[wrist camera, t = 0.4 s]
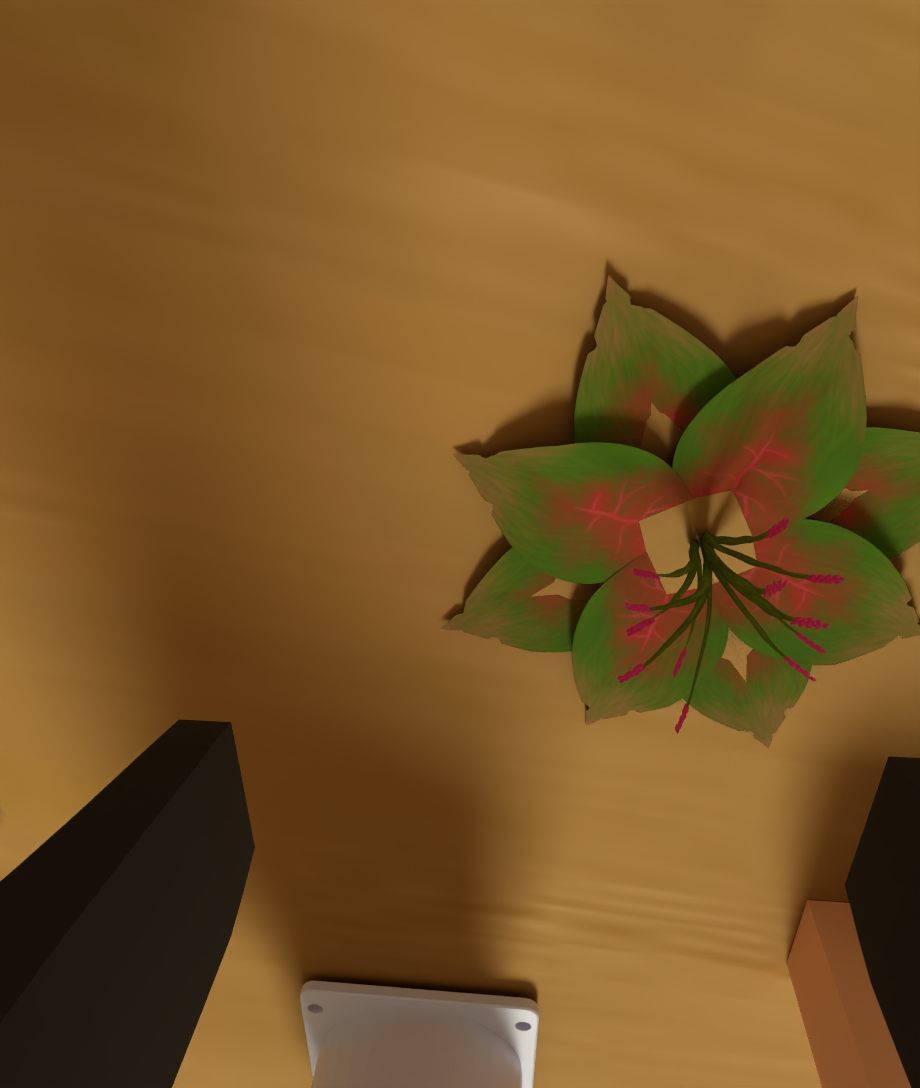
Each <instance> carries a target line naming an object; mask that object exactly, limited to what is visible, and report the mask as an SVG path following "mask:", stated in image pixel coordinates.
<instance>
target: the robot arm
mask: <svg viewBox="0 0 920 1088" xmlns="http://www.w3.org/2000/svg"><path fill="white" fill-rule="evenodd" d="M254 848H255V846H254V841H253V836H252V830H251V825H250V820H249V815H248V809H247V804H246V799H245V793H244V788H243V783H242V778H241V772H240V767H239V762H238V757H237V751H236V746H235V741H234V735H233V730H232V725H231V722H215V721H195V720H178V721H177V722H176V723H175V724H174V725H173V726H172V727H171V728H169V729H168V730H167V731H166V732H165V733H164V734H163V735H162V736H160V737H159V738H158V739H157V740H156V741H155V742H154V743H153V744H152V745H150V746H149V747H148V748H147V749H146V750H145V751H144V752H143V753H142V754H141V755H140V756H139V757H137V758H136V759H135V760H134V761H133V762H132V763H131V764H130V765H129V766H128V767H127V768H126V769H125V770H123V771H122V772H121V773H120V774H119V775H118V776H117V777H116V778H115V779H114V780H113V781H112V782H111V783H109V784H108V785H107V786H106V787H105V788H104V789H103V790H102V791H101V792H100V793H99V794H98V795H96V796H95V797H94V798H93V799H92V800H91V801H90V802H89V803H88V804H87V805H86V806H85V807H83V808H82V809H81V810H80V811H79V812H78V813H77V814H76V815H75V816H74V817H72V818H71V819H70V820H69V821H68V822H67V823H66V824H65V825H64V826H62V827H61V828H60V829H59V830H58V831H57V832H56V833H55V834H53V835H52V836H51V837H50V838H49V839H48V840H47V841H46V842H44V843H43V844H42V845H41V846H40V847H39V848H38V849H37V850H36V851H34V852H33V853H32V854H31V855H30V856H29V857H28V858H27V859H25V860H24V861H23V862H22V863H21V864H20V865H19V866H18V867H16V868H15V869H14V870H13V871H12V872H11V873H10V874H8V875H7V876H6V877H5V878H4V879H3V880H1V881H0V1088H172V1086H173V1083H174V1081H175V1078H176V1076H177V1073H178V1071H179V1068H180V1066H181V1063H182V1061H183V1058H184V1056H185V1053H186V1050H187V1048H188V1045H189V1043H190V1040H191V1038H192V1035H193V1033H194V1030H195V1028H196V1025H197V1023H198V1020H199V1018H200V1015H201V1013H202V1010H203V1007H204V1005H205V1002H206V1000H207V997H208V995H209V992H210V989H211V987H212V984H213V982H214V979H215V977H216V974H217V971H218V969H219V966H220V964H221V961H222V959H223V956H224V953H225V951H226V948H227V945H228V943H229V940H230V937H231V934H232V931H233V927H234V924H235V920H236V916H237V913H238V909H239V906H240V902H241V899H242V895H243V891H244V887H245V883H246V879H247V875H248V872H249V868H250V864H251V860H252V856H253V852H254ZM845 887H846V891H847V895H848V899H849V903H850V907H851V911H852V915H853V919H854V923H855V927H856V931H857V935H858V939H859V943H860V946H861V950H862V953H863V957H864V961H865V964H866V968H867V971H868V975H869V979H870V982H871V985H872V987H873V990H874V993H875V995H876V998H877V1001H878V1003H879V1006H880V1009H881V1011H882V1014H883V1016H884V1019H885V1022H886V1024H887V1027H888V1029H889V1032H890V1035H891V1037H892V1040H893V1042H894V1045H895V1047H896V1050H897V1053H898V1055H899V1058H900V1060H901V1063H902V1066H903V1068H904V1071H905V1073H906V1076H907V1078H908V1081H909V1083H910V1086H911V1088H920V758H906V757H888V760H887V763H886V766H885V769H884V772H883V775H882V778H881V781H880V784H879V787H878V789H877V792H876V795H875V798H874V801H873V804H872V807H871V810H870V813H869V816H868V819H867V822H866V825H865V828H864V831H863V834H862V836H861V839H860V842H859V845H858V848H857V851H856V854H855V857H854V860H853V863H852V866H851V869H850V872H849V875H848V878H847V881H846V883H845ZM300 1002H301V1008H302V1015H303V1021H304V1027H305V1033H306V1039H307V1045H308V1051H309V1058H310V1064H311V1070H312V1076H313V1081H312V1085H311V1088H533V1080H534V1069H535V1057H536V1046H537V1034H538V1023H539V1007H538V1004H537V1003H536V1002H535V1001H533V1000H531V999H528V998H522V997H510V996H497V995H485V994H473V993H461V992H449V991H436V990H424V989H412V988H400V987H387V986H375V985H363V984H351V983H339V982H326V981H309V982H306V983H305V984H304V985H303V986H302V990H301V993H300Z"/></svg>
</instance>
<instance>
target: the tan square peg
mask: <svg viewBox="0 0 920 1088" xmlns="http://www.w3.org/2000/svg"><path fill="white" fill-rule="evenodd" d="M787 966H788V970H789V973H790V977H791V980H792V984H793V987H794V990H795V994H796V997H797V1001H798V1004H799V1008H800V1011H801V1015H802V1018H803V1022H804V1025H805V1029H806V1032H807V1036H808V1039H809V1043H810V1046H811V1050H812V1053H813V1057H814V1060H815V1064H816V1067H817V1071H818V1074H819V1078H820V1081H821V1085H822V1088H911V1086H910V1083H909V1081H908V1078H907V1076H906V1073H905V1071H904V1068H903V1066H902V1063H901V1060H900V1058H899V1055H898V1053H897V1050H896V1047H895V1045H894V1042H893V1040H892V1037H891V1035H890V1032H889V1029H888V1027H887V1024H886V1022H885V1019H884V1016H883V1014H882V1011H881V1009H880V1006H879V1003H878V1001H877V998H876V995H875V993H874V990H873V987H872V985H871V982H870V979H869V975H868V971H867V968H866V964H865V961H864V957H863V953H862V950H861V946H860V943H859V939H858V935H857V931H856V927H855V923H854V919H853V915H852V911H851V907H850V903H845V902H830V901H816V900H807V903H806V906H805V909H804V912H803V915H802V918H801V921H800V924H799V927H798V930H797V933H796V936H795V939H794V942H793V945H792V948H791V951H790V954H789V957H788V960H787Z"/></svg>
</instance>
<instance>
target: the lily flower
mask: <svg viewBox="0 0 920 1088" xmlns="http://www.w3.org/2000/svg"><path fill="white" fill-rule="evenodd" d="M605 299H606V301H607V302H606V303H605V304H604V305H603V308H602V311H601V315H600V318H599V321H598V324H597V328H596V331H595V334H594V336H595V337H594V338H595V341H596V343H597V347H596V348H595V349H594V351H592V352H590V353H589V354H588V355H587V359H586V362H585V365H584V369H583V372H582V376H581V380H580V384H579V389H578V394H577V399H576V406H575V408H576V409H575V415H574V436H575V444H568V445H561V446H547V447H535V448H526V449H517V450H509V451H501V452H499V453H497V454H496V456H495V455H494V454H493V456H490V457H488V458H486V459H485V458H483V457H481V455H477V454H476V455H464V454H453V455H454V456H455V457H456V458H457V460H458V461H459V462H460V463H461V464H462V466H463V467H465V468H466V470H469V475H470V477H471V479H472V480H473V482H474V484H475V486H476V487H477V489H478V491H479V493H480V494H481V496H482V497H483V499H485V501H487V502H488V501H489V502H490V503H492V504H493V511H492V516H493V518H494V520H495V521H496V523H497V525H498V526H499V528H500V529H501V531H502V533H503V534H504V536H505V537H506V539H507V540H508V542H509V543H510V545H511V546H512V548H511V549H510V550H509V551H507V552H506V553H505V554H504V555H503V556H502V557H501V558H500V559H499V560H498V562H497V563H496V564H495V565H494V566H493V567H492V568H491V569H490V570H489V572H488V573H487V574H486V575H485V576H484V577H483V579H482V580H481V581H480V582H479V584H478V585H477V586H476V588H475V589H474V590H473V592H472V593H471V594H470V596H469V597H468V599H467V600H466V601H465V606H466V607H464V611H463V613H464V614H463V613H461V614H460V615H459V614H457V615H455V616H454V617H453V618H452V619H451V620H450V621H449V622H448V623H447V624H445V625H444V626H443V627H442V628H443V629H450V630H461V629H462V630H463V631H464V632H466V633H470V634H473V635H477V636H480V637H483V638H492V637H495V636H496V637H498V638H499V639H500V642H501V643H502V644H505V645H509V646H512V647H516V648H520V649H524V650H528V651H535V652H568V651H572V664H573V674H574V679H575V683H576V686H577V689H578V692H579V695H580V698H581V701H582V702H584V703H586V705H587V706H588V707H590V708H589V710H586V725H588V724H591V723H594V722H596V721H597V720H599V719H600V718H602V719H607V718H612V717H617V716H623V715H626V714H627V713H628V711H630V710H635V711H637V712H640V713H641V712H646V711H651V710H656V709H660V708H664V707H668V706H670V705H672V704H674V703H675V702H677V701H679V700H681V698H683V699H684V700H685V701H686V702H687V703H686V704H685V706H684V708H683V710H682V715H681V716H680V719H679V722H678V724H677V725H676V727H675V730H676V732H677V734H678V733H679V730H680V729H681V727H682V723H683V721H684V720H685V718H686V714H687V713H688V710H689V707H688V706H689V704H690V705H691V706H692V707H693V708H695V709H696V710H697V711H699V712H700V713H701V714H703V715H705V716H707V717H709V718H711V719H713V720H714V721H717V722H719V723H721V724H723V725H726V726H728V727H730V728H733V729H735V730H737V731H744V730H745V731H747V732H748V731H752V732H753V731H754V732H753V733H754V735H753V736H754V738H756V739H757V740H759V741H760V742H762V743H763V744H764V745H765V746H766V747H768V748H769V746H770V743H771V740H772V737H773V736H772V734H773V733H775V732H776V731H777V729H778V728H779V726H780V725H781V723H782V722H783V720H784V719H785V718H786V717H785V714H784V711H785V709H787V708H792V707H793V706H794V705H795V704H796V702H797V701H798V699H799V697H800V696H801V694H802V692H803V691H804V689H805V687H806V684H807V681H808V679H811V680H812V681H816V679H815V678H813V677H810V676H809V675H810V673H809V672H810V671H811V668H812V665H835V664H839V663H842V662H845V661H848V660H851V659H854V658H856V657H859V656H862V655H864V654H867V653H869V652H872V651H874V650H877V649H879V648H882V647H884V646H886V644H887V643H888V642H889V641H890V642H891V640H893V639H894V638H895V637H897V636H898V634H899V636H902V638H907V637H912V636H916V635H920V625H919V624H918V623H919V620H918V617H917V614H916V611H915V609H914V608H913V607H911V606H908V605H907V603H908V601H910V600H911V599H912V598H911V595H910V593H909V590H908V588H907V585H906V583H905V581H904V580H903V578H902V577H901V575H900V574H899V572H898V571H897V569H896V568H895V567H894V565H893V564H892V563H891V562H890V560H889V559H890V558H892V557H894V556H896V555H898V554H900V553H902V552H903V551H905V550H907V549H909V548H910V547H912V546H913V545H915V544H917V543H918V542H919V541H920V433H919V432H913V431H906V430H899V429H888V428H878V427H866V422H867V410H866V396H865V388H864V379H863V372H862V366H861V359H860V354H859V353H858V351H857V350H856V349H854V347H855V346H854V343H853V342H852V341H851V339H850V336H849V335H851V331H855V328H856V310H857V301H858V296H857V297H856V298H855V299H854V300H852V301H851V302H850V303H849V304H848V305H846V306H845V307H844V308H843V309H842V310H841V311H840V312H839V313H838V314H837V316H835V317H831V318H829V319H828V320H826V321H825V322H823V323H822V324H820V325H819V326H817V327H815V328H814V329H812V330H811V331H809V332H807V334H805V335H804V336H803V337H802V339H801V341H800V342H799V343H798V345H796V346H794V347H791V346H785V347H784V348H782V349H780V350H779V351H777V352H776V353H774V354H773V355H771V356H770V357H768V358H767V359H765V360H764V361H762V362H761V363H760V364H758V365H757V366H756V367H754V368H753V369H752V370H750V371H748V372H747V373H745V374H744V375H742V376H741V377H739V378H738V379H736V377H735V375H734V374H733V373H732V371H731V370H730V369H729V367H728V366H727V365H726V364H725V363H724V362H723V361H722V360H721V359H720V358H719V357H718V356H717V355H716V354H715V353H714V352H713V351H712V350H710V349H709V348H708V347H707V346H706V345H704V344H703V343H702V342H701V341H699V340H698V339H697V338H695V337H694V336H693V335H691V334H690V333H689V332H687V331H686V330H684V329H683V328H681V327H680V326H678V325H677V324H675V323H674V322H672V321H670V320H669V319H667V318H666V317H664V316H663V315H661V314H659V313H658V312H656V311H654V310H653V309H651V308H649V309H648V308H646V309H645V308H644V309H643V306H642V307H640V306H635V305H633V304H632V305H631V302H630V301H629V300H630V299H631V297H630V296H629V294H628V293H626V291H624V290H623V289H622V288H621V287H620V286H619V285H618V284H617V283H616V282H615V281H614V280H613V279H612V278H611V277H610V276H609V275H608V280H607V287H606V297H605ZM651 401H652V403H653V404H654V405H655V407H656V408H657V409H658V411H659V412H661V413H663V414H666V415H667V416H668V417H669V418H670V419H671V420H672V421H674V422H675V423H676V424H677V425H678V426H679V427H681V428H682V429H683V430H685V432H684V433H683V435H682V437H681V439H680V441H679V443H678V445H677V448H676V451H675V454H674V459H673V466H672V468H671V467H670V466H669V465H668V464H667V463H665V462H664V461H663V460H661V459H660V458H659V457H657V456H655V455H653V454H651V453H649V452H647V451H644V450H642V449H639V448H640V444H641V440H642V436H643V432H644V428H645V424H646V421H647V419H648V418H649V417H650V415H651ZM844 488H847V489H849V490H851V491H860V490H868V491H867V492H865V493H863V494H862V495H860V496H858V497H857V498H855V499H854V500H853V502H852V504H851V505H850V506H849V507H848V508H847V509H846V510H844V511H843V512H842V513H841V514H840V515H838V516H837V517H836V518H835V519H834V520H833V521H831V522H830V523H827V522H823V521H817V520H810V519H805V518H807V517H809V516H811V515H812V514H814V513H816V512H817V511H819V510H820V509H822V508H823V507H825V506H826V505H827V504H829V503H830V502H831V501H832V500H833V499H834V498H835V497H836V496H837V495H838V494H839V493H840V492H841V491H842V490H843V489H844ZM730 490H733V492H734V494H735V496H736V499H737V501H738V503H739V506H740V508H741V510H742V513H743V515H744V517H745V520H746V522H747V524H748V527H749V529H750V531H751V534H752V537H751V536H742V537H737V538H733V537H726V536H718V537H717V536H712V535H709V532H708V530H707V532H706V533H705V535H704V537H703V538H702V540H701V541H700V542H699V543H697V542H695V541H692V540H691V542H690V549H689V558H690V561H689V562H688V564H687V565H686V566H685V567H684V568H681V569H678V570H676V571H674V572H672V573H669V574H657V573H656V571H655V569H654V567H653V565H652V563H651V560H650V558H649V556H648V554H647V552H646V549H645V545H644V541H643V537H642V532H641V528H640V524H639V521H640V520H643V519H645V518H647V517H650V516H652V515H655V514H657V513H659V512H662V511H664V510H667V509H669V508H671V507H674V506H676V505H679V504H681V503H683V502H686V501H688V500H691V499H692V498H697V497H702V496H706V495H711V494H716V493H720V492H725V491H730ZM696 533H697V532H696ZM697 538H698V535H697ZM698 541H699V538H698ZM752 542H753V543H754V548H755V554H756V559H757V560H755V559H753V558H751V557H749V556H746V555H744V554H742V553H739V552H736V551H734V550H731V549H728V548H726V547H724V546H722V545H720V544H726V545H738V544H744V543H752ZM699 547H701V550H702V554H703V559H704V563H703V575H702V567H701V559H700V555H699ZM712 547H714V548H715V549H717V550H718V551H721V552H723V553H725V554H728V555H731V556H733V557H735V558H737V559H740V560H742V561H744V562H746V563H748V564H750V565H753V566H756V567H755V568H752V569H750V570H747V571H745V572H742V573H740V574H736V573H735V572H733V571H732V570H731V569H730V568H729V567H727V566H726V565H725V564H724V563H723V562H722V560H721V559H720V558H719V557H718V556H717V555H716V553H715V551H714V549H713V548H712ZM712 570H713V572H714V573H715V575H716V577H717V578H718V580H719V581H720V582H718V583H714V582H713V583H714V584H713V585H712V580H713V579H712ZM696 571H697V576H698V586H697V589H693V590H688V591H686V590H687V589H688V588H689V586H690V585H691V583H692V581H693V579H694V577H695V574H696ZM687 573H688V575H687V577H686V580H685V582H684V584H683V585H682V587H681V588H680V590H679V591H678V592H677V593H674V594H669V595H667V594H666V592H665V590H664V588H663V586H662V584H661V582H660V580H659V579H660V577H659V576H661V577H680V576H682V575H684V574H687ZM555 578H558V579H561V580H565V581H569V582H574V583H582V584H595V583H604V582H605V583H604V584H603V585H602V586H601V587H600V588H599V589H598V590H597V591H596V592H595V593H594V595H593V596H592V597H591V599H590V600H589V601H579V600H569V599H567V598H565V597H563V596H560V595H547V596H534V597H530V596H531V595H533V594H535V593H536V592H538V591H540V590H541V589H543V588H545V587H546V586H548V585H550V584H551V583H553V582H554V580H555ZM917 624H918V625H917ZM728 627H729V629H730V630H731V631H732V632H733V633H734V634H735V635H736V636H737V637H738V638H739V639H740V640H742V641H743V642H744V643H745V644H747V645H748V646H750V647H751V648H753V649H752V651H751V652H750V653H749V654H748V655H747V679H746V682H745V680H744V679H743V678H742V676H741V675H740V674H739V672H738V671H737V670H736V668H735V667H734V666H733V664H732V663H731V662H730V661H729V660H726V659H723V658H721V657H722V655H723V652H724V649H725V646H726V642H727V637H728ZM731 637H732V636H731ZM734 645H735V644H734ZM735 648H736V647H735ZM745 678H746V677H745Z"/></svg>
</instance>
